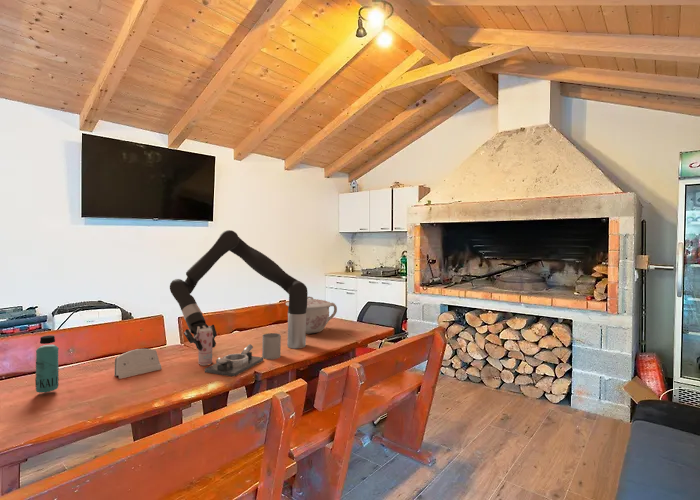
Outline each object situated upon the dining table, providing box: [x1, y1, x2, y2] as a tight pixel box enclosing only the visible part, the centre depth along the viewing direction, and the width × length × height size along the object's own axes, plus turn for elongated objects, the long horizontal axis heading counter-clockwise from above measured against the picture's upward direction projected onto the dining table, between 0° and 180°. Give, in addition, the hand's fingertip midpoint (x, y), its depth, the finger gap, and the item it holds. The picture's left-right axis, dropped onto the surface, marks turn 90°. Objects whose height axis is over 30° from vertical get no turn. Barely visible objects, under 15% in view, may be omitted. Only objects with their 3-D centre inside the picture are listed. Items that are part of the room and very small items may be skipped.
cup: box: [261, 332, 282, 360], centre depth 184 cm, size 8×8×10 cm
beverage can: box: [197, 328, 213, 366], centre depth 172 cm, size 6×6×15 cm
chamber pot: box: [285, 296, 338, 335], centre depth 235 cm, size 28×28×21 cm
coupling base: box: [204, 343, 264, 377], centre depth 169 cm, size 24×14×7 cm, turn 161°
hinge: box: [114, 348, 162, 380], centre depth 160 cm, size 17×5×10 cm, turn 139°
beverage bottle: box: [34, 335, 60, 394], centre depth 136 cm, size 6×7×20 cm
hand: (207, 347), depth 171 cm, fingers closed on beverage can, 5 cm apart
